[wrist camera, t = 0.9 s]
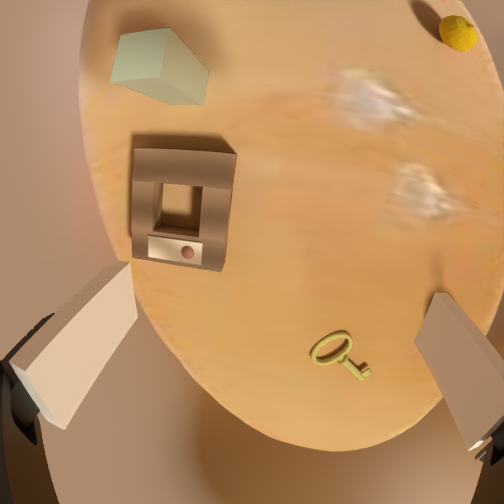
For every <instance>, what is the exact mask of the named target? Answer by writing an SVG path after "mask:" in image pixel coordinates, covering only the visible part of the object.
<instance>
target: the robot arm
mask: <svg viewBox="0 0 504 504" xmlns="http://www.w3.org/2000/svg"><path fill="white" fill-rule="evenodd" d="M137 318H138V316H137V310H136V304H135V297H134V290H133V283H132V275H131V266H130V262H123V261H116V260H115V261H114V262H112V263H111V264H110V265H109V266H108V267H106V268H105V269H104V270H103V271H102V272H100V273H99V274H98V275H97V276H96V277H95V278H94V279H92V280H91V281H90V282H89V283H88V284H87V285H86V286H84V287H83V288H82V289H81V290H80V291H79V292H78V293H77V294H75V295H74V296H73V297H72V298H71V299H70V300H69V301H68V302H67V303H66V304H65V305H64V306H63V307H61V308H60V309H59V310H58V311H57V312H56V313H52V314H51V315H49V316H47V317H45V318H43V319H42V320H41V321H40V322H39V323H38V324H37V325H36V326H35V327H34V329H31V331H29V333H27V336H25V337H24V338H23V339H22V340H21V341H20V342H19V343H18V344H17V345H16V346H15V347H14V348H13V349H12V350H11V351H10V352H9V353H8V354H7V355H6V356H5V358H4V359H3V360H1V361H0V504H59V502H58V499H57V496H56V493H55V489H54V486H53V483H52V479H51V476H50V472H49V468H48V464H47V460H46V455H45V450H44V445H43V440H42V433H41V427H40V422H39V419H38V417H37V414H38V413H39V411H41V412H42V414H43V415H44V417H45V418H46V419H47V421H49V422H51V423H52V424H54V425H56V426H58V427H59V428H61V429H63V430H65V429H66V427H67V425H68V423H69V422H70V420H71V418H72V417H73V415H74V413H75V412H76V410H77V408H78V407H79V405H80V403H81V402H82V400H83V399H84V397H85V395H86V394H87V392H88V391H89V389H90V387H91V385H92V384H93V383H94V381H95V379H96V378H97V376H98V375H99V373H100V372H101V370H102V369H103V367H104V366H105V364H106V363H107V361H108V360H109V358H110V356H111V355H112V353H113V352H114V351H115V349H116V348H117V346H118V345H119V343H120V342H121V340H122V339H123V337H124V336H125V334H126V333H127V332H128V330H129V328H130V327H131V326H132V325H133V323H134V322H135V320H136V319H137ZM414 342H415V344H416V346H417V347H418V349H419V351H420V353H421V354H422V356H423V358H424V360H425V362H426V364H427V365H428V367H429V369H430V371H431V373H432V375H433V377H434V379H435V381H436V383H437V384H438V386H439V388H440V390H441V392H442V395H443V397H444V399H445V401H446V403H447V405H448V407H449V409H450V411H451V414H452V416H453V418H454V420H455V422H456V425H457V427H458V429H459V432H460V434H461V436H462V439H463V441H464V444H465V446H466V449H467V451H469V450H471V449H473V448H476V447H478V446H480V445H481V444H482V443H483V442H484V441H485V440H486V439H487V438H489V437H490V436H491V437H492V441H491V442H490V443H488V444H487V445H486V446H485V447H484V448H483V449H482V450H481V451H480V452H479V453H478V454H477V455H476V457H475V459H477V458H478V457H480V456H481V455H482V454H483V453H486V454H485V455H483V456H482V457H481V458H480V461H483V466H482V470H481V474H480V477H479V481H478V484H477V487H476V490H475V493H474V496H473V499H472V502H471V504H504V361H503V359H502V358H501V356H500V355H499V354H498V353H497V351H496V350H495V349H494V347H493V346H492V345H491V343H490V342H489V341H488V340H487V338H486V337H485V336H484V335H483V333H482V332H481V331H480V330H479V329H478V327H477V326H476V325H475V324H474V323H473V321H472V320H471V319H470V318H469V317H468V316H467V314H466V313H465V312H464V311H463V310H462V309H461V308H460V307H459V306H458V304H457V303H456V302H455V301H454V300H453V299H452V298H451V297H450V296H449V295H448V294H447V293H438V292H435V294H434V297H433V299H432V302H431V304H430V307H429V309H428V312H427V314H426V316H425V319H424V321H423V323H422V326H421V328H420V330H419V332H418V334H417V336H416V339H415V341H414Z"/></svg>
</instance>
